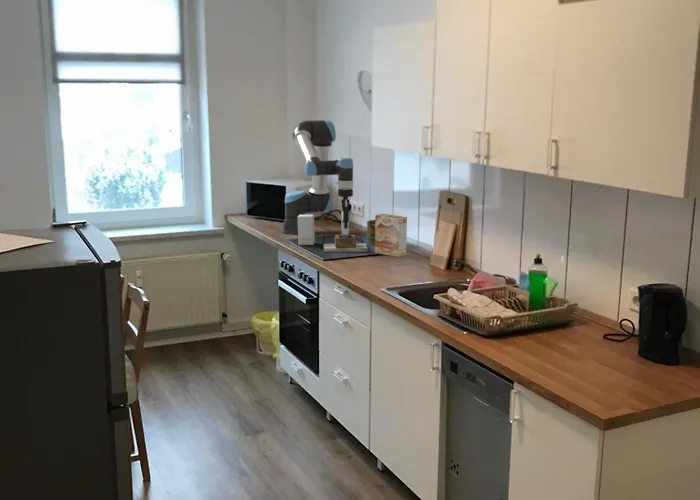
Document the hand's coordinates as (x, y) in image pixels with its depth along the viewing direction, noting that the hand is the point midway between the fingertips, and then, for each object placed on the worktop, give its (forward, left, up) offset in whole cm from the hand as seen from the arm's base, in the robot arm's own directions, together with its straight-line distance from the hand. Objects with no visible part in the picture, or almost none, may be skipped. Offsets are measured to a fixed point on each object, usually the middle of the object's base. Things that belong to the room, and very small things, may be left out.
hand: (345, 233), depth 391 cm
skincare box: (-14, -20, -8) cm, 26 cm away
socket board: (0, 0, -8) cm, 8 cm away
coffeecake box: (+13, +22, -8) cm, 27 cm away
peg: (0, 0, -5) cm, 5 cm away
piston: (-13, +18, -8) cm, 24 cm away
